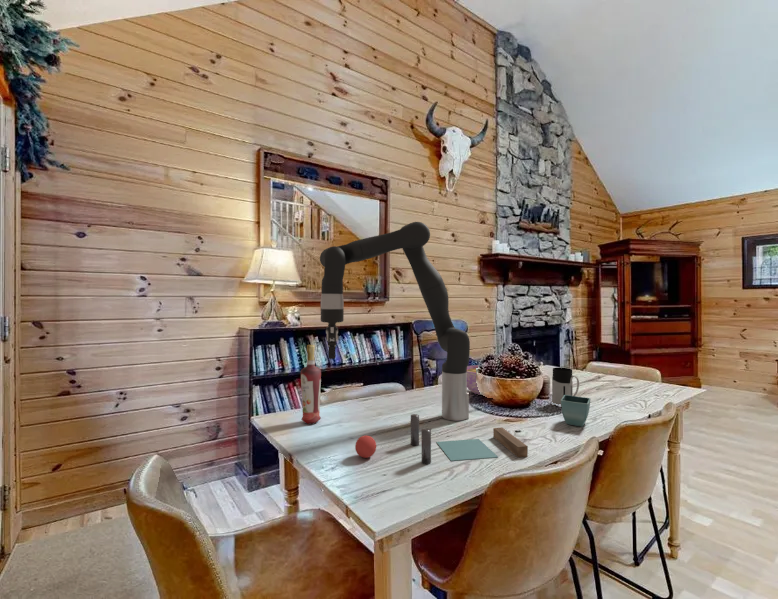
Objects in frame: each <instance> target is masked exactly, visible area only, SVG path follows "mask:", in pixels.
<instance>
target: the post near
mask: <svg viewBox="0 0 778 599" xmlns="http://www.w3.org/2000/svg"><path fill="white" fill-rule="evenodd" d="M431 463H432V429H431V428H422V429H421V464H422V465H431Z"/></svg>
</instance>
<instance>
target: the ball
mask: <svg viewBox="0 0 778 599" xmlns="http://www.w3.org/2000/svg"><path fill="white" fill-rule="evenodd" d="M354 446H355V448H354V449H355V452H356V453H357V455H358V456H359V457H361V458H362V459H363V458H364V459H368V458H371V457H372V456H373V455H374V454H375V453H376V450H377V442H376V440H375V439H374V438H373V437H372V436H371V435H361V436H360V437H359V438H358V439H357V440H356V442H355V445H354Z"/></svg>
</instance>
